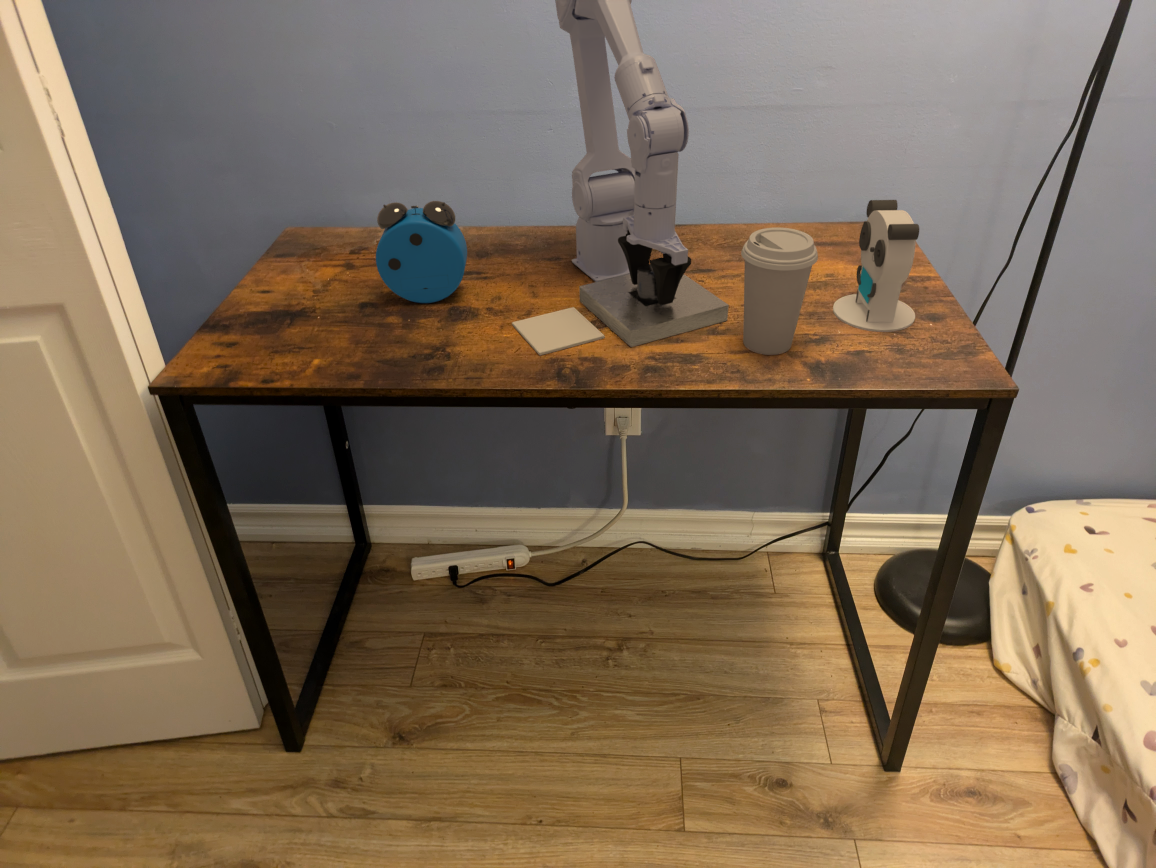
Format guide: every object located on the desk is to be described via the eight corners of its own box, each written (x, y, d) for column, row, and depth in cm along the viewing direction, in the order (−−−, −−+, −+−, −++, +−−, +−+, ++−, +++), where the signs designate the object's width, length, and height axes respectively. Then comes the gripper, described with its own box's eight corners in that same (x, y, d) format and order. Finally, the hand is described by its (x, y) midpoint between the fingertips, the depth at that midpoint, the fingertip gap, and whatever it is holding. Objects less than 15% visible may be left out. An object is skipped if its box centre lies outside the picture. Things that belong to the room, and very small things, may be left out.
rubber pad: (512, 324, 111) (511, 322, 111) (573, 309, 115) (573, 306, 114) (539, 355, 104) (539, 353, 104) (604, 338, 107) (604, 335, 107)
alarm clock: (472, 286, 122) (460, 193, 113) (469, 303, 117) (457, 208, 108) (390, 289, 122) (372, 197, 113) (383, 307, 117) (364, 212, 108)
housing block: (579, 301, 117) (579, 286, 115) (669, 279, 122) (669, 264, 121) (630, 347, 105) (631, 331, 104) (727, 320, 111) (728, 304, 109)
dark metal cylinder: (631, 308, 115) (632, 267, 111) (656, 301, 116) (658, 261, 112) (646, 320, 111) (647, 279, 108) (671, 313, 113) (674, 272, 109)
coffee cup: (727, 326, 109) (738, 225, 100) (795, 326, 109) (811, 224, 100) (736, 361, 101) (748, 255, 93) (809, 360, 101) (828, 254, 92)
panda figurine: (824, 294, 117) (841, 197, 108) (899, 293, 116) (923, 195, 107) (843, 332, 107) (864, 229, 98) (925, 331, 107) (954, 228, 98)
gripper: (604, 191, 108) (604, 279, 116) (657, 224, 97) (653, 319, 105) (647, 182, 110) (645, 270, 118) (703, 214, 100) (696, 308, 108)
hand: (652, 292), depth 112 cm, fingers open, 7 cm apart
